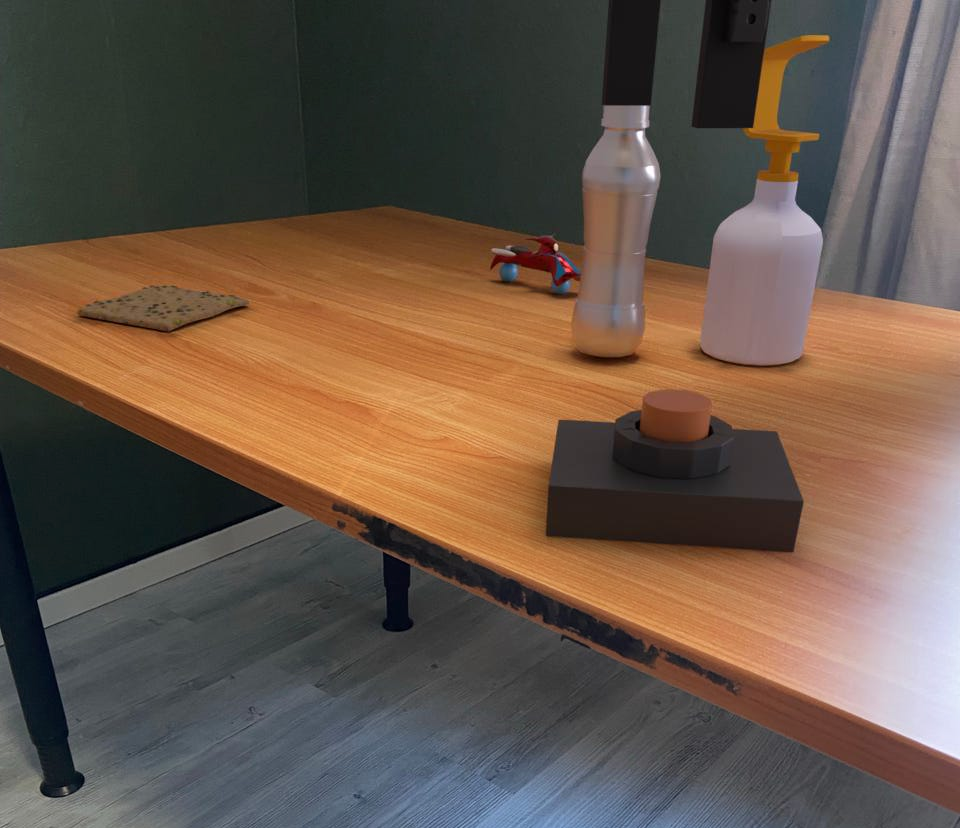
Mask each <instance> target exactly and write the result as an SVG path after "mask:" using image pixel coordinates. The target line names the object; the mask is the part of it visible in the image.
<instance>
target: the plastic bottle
mask: <svg viewBox="0 0 960 828" xmlns="http://www.w3.org/2000/svg"><path fill="white" fill-rule="evenodd" d="M602 107H603V108H602V118H601V119H600V121H601V122H600V126H601V127H604V130H603V134H602V136H601V137H600V139H599V140H598V141H597V143H596V144H595V146H593V148H592V150H591V151H590V153H589V155H588V157H587V159H586V160H585V163H584V165H583V168H582V172H581V186H582V188H581V192H582V193H581V194H582V209H583V243H584V245H583V248H582V264H581V270H580V271H581V276H580V281H579V285H578V291H577V298H575V303H574V305H573V309H572V315H571V321H570V330H571V339H572V342H573V344H574V345H575V347H576V349H577V350H578V351H579V352H581V353H583V354H586V355H589V356H593V357H601V358H622V357H626V356H631V355H633V354H635V353H636V351H637V350H638V349H639V348H640V346H641V345H642V342H643V339H644V336H645V335H644V334H645V330H646V309H645V302H644V297H645V296H644V294H645V293H644V292H645V263H646V262H645V261H646V255H647V245H648V241H649V235H650V229H651V228H650V227H651V223H652V218H653V214H654V211H655V210H654V209H655V206H656V201H657V197H658V190H659V188H660V184H661V183H660V182H661V179H662V177H661V170H660V163H659V161H658V158H657V156H656V154H655V152H654V150H653V147H652V146H651V144H650V142H649V140H648V139H647V137H646V129H647V128H650V108H651V106H605V105H603V106H602Z"/></svg>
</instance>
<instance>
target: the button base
mask: <svg viewBox="0 0 960 828" xmlns="http://www.w3.org/2000/svg"><path fill="white" fill-rule="evenodd" d="M641 411H642V409H638V410H632V411H629V412H627V413H624V414H623V415H621V416H619V417H617V418H616V419H615V421H614V422H613V421H596V420H595V421H594V420H575V419H558V421H557V428H556V434H555V441H554V446H553V453H552V460H551V467H550V471H549V479H548V486H547V487H548V488H547V503H546V519H545V520H546V524H545V536H546V537H555V538H570V539H571V538H572V539H584V540H599V541H614V542H615V541H617V542H632V543H644V544H645V543H646V544H647V543H649V544H661V545H675V546H676V545H677V546H692V547H693V546H694V547H708V548H724V549H739V550H751V551H752V550H753V551H755V550H756V551H769V552H781V553H782V552H784V553H794V552H795V548H796V541H797V538H798V533H799V527H800V521H801V519H802V513H803V508H804V502H805V501H804V498H803V495H802V492H801V490H800V487H799V485H798V482H797V479H796V477H795V474H794V471H793V469H792V467H791V464H790V461H789V459H788V456H787V454H786V451H785V449H784V446H783V444H782V441H781V438H780V435H779V432H778V431H776V430H759V429H742V428H733V426H732V425H731V424H730V423H728V422H726V421H724V420H722V419H721V418H719V417H717V416H715V415H712V414H711V417H710V424H709V431H708V437H707V438H706V439H705V440H698V441H692V442H678V441H664V440H660V439H656V438H652V437H648V436H646V435H644V434H642V433H641V432H640V431H639V430H640V420H641Z"/></svg>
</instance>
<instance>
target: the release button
mask: <svg viewBox="0 0 960 828" xmlns="http://www.w3.org/2000/svg"><path fill="white" fill-rule="evenodd" d="M641 401H642V403H641V410H642V411H641V420H640V430H639V431H640V432H641V433H642V434H644V435H646V436H648V437H652V438H656V439H660V440H664V441H678V442H692V441H698V440H705V439H706V438H707V437H708V431H709V424H710V417H711V415H712V411H713V401H712V399H710V398H709V397H708V396H706V395H704V394H701V393H698V392H695V391H691V390H685V389H658V390H653V391H650V392H647V393H646V394H644V395H643V396H642V400H641Z"/></svg>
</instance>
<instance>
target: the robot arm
mask: <svg viewBox="0 0 960 828" xmlns="http://www.w3.org/2000/svg"><path fill="white" fill-rule="evenodd" d="M661 1H662V0H608V6H607V7H608V8H607V23H606V33H605V35H606V36H605V49H604V63H603V64H604V65H603V79H602V91H601V106H604V105H605V106H650V107H651V106H652V99H653V97H652V96H653V88H654V87H653V85H654V76H655V66H656V56H657V55H656V53H657V44H658V33H659V23H660V13H661V12H660V10H661ZM771 6H772V0H705V3H704V13H703V19H702V20H703V22H702V31H701V38H700V47H699V54H698V55H699V56H698V66H697V74H696V82H695V84H696V85H695V92H694V99H693V100H694V101H693V109H692V117H691V126H690V127H691V128H695V129H743V128H753V126H754V119H755V112H756V105H757V98H758V91H759V84H760V77H761V70H762V63H763V56H764V49H766V42H767V34H768V27H769V20H770V13H771Z"/></svg>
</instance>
